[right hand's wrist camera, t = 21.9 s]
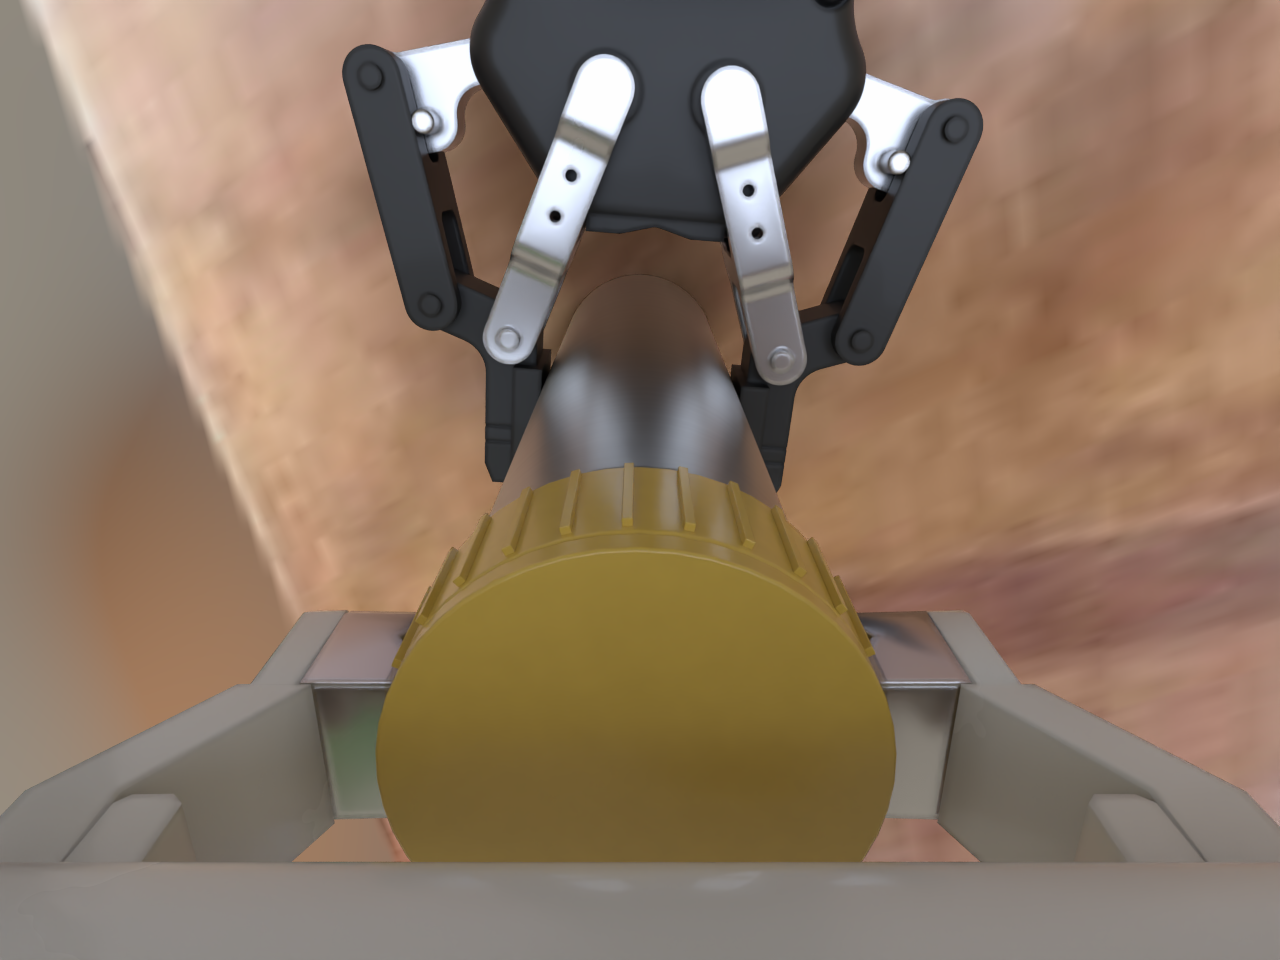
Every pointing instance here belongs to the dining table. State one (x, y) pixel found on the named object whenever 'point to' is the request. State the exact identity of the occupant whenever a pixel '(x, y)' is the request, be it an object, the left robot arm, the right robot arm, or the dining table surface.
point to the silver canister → (638, 396)
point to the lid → (635, 687)
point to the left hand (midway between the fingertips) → (632, 500)
